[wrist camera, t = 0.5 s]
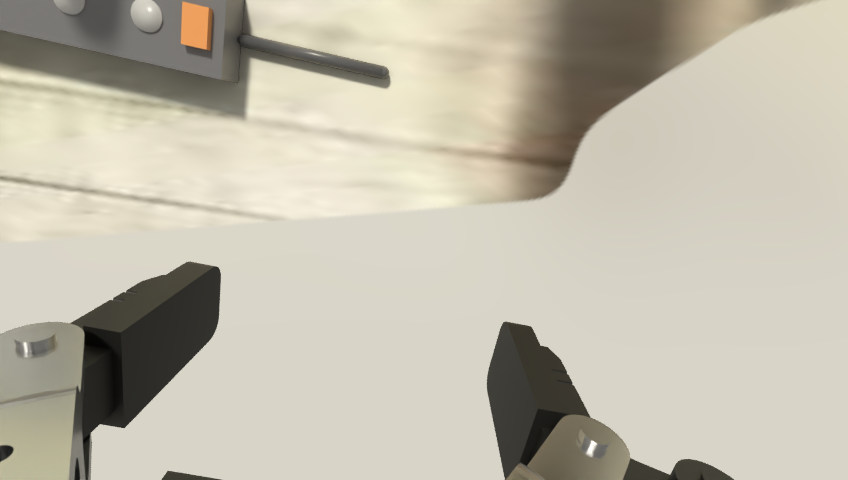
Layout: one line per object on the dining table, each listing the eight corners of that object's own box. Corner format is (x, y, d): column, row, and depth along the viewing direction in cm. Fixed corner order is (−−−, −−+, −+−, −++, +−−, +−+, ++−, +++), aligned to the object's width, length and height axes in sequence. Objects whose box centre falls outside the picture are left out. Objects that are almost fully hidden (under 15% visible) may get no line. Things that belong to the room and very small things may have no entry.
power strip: (-53, -80, 33) (-111, -103, 29) (397, 27, 34) (394, 17, 31) (-43, 19, 35) (-94, 8, 31) (382, 115, 36) (377, 115, 33)
